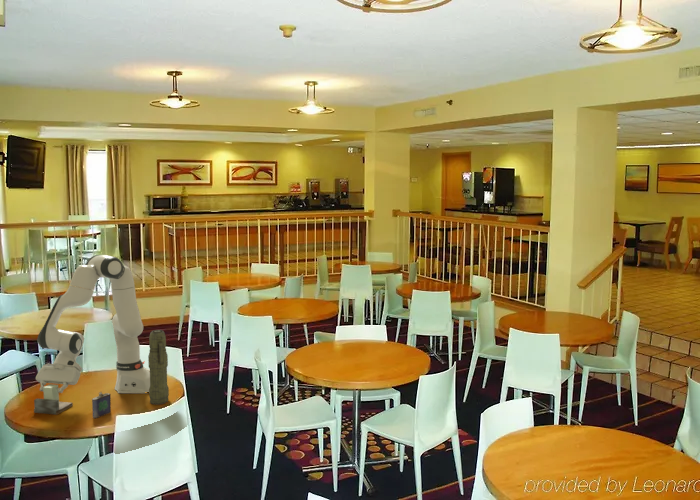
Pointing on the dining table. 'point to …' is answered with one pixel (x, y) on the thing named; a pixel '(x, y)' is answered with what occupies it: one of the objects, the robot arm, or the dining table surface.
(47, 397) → the cabinet block
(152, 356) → the stone statue
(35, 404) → the display stand
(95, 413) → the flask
